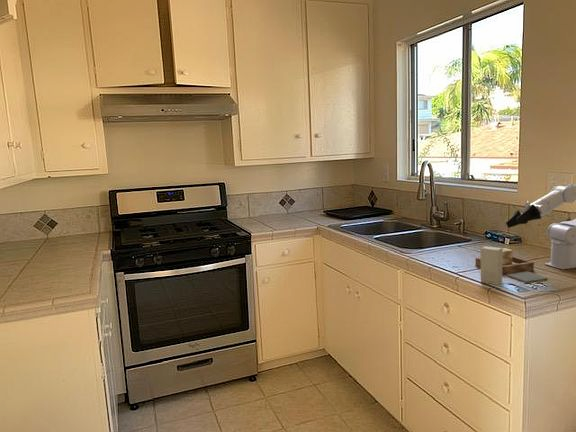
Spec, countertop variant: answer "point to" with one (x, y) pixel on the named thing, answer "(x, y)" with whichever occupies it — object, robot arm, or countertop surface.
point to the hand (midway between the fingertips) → (512, 223)
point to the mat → (526, 277)
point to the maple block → (506, 256)
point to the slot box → (513, 265)
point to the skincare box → (491, 265)
